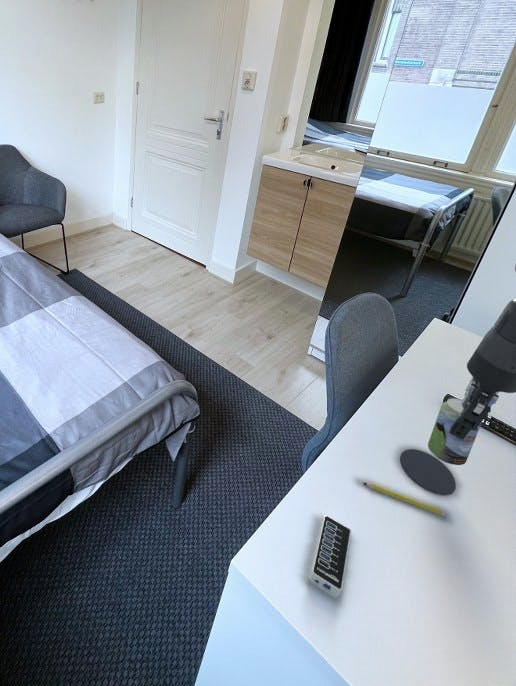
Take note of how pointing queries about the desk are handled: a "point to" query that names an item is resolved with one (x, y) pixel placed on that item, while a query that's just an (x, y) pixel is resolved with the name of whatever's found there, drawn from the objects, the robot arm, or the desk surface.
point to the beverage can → (450, 435)
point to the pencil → (406, 499)
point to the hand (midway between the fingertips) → (459, 424)
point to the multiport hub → (330, 556)
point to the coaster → (427, 471)
